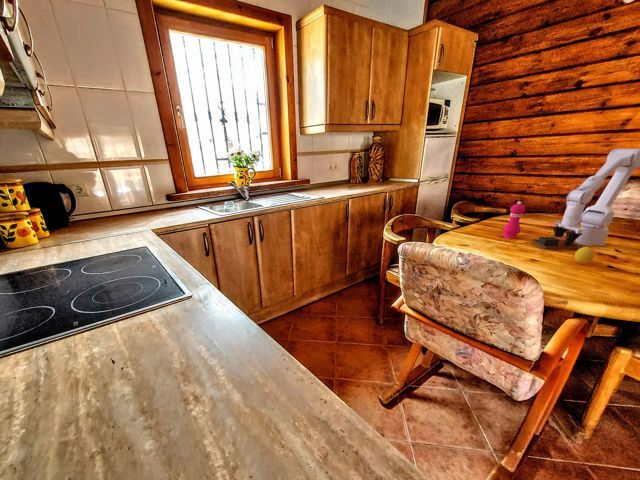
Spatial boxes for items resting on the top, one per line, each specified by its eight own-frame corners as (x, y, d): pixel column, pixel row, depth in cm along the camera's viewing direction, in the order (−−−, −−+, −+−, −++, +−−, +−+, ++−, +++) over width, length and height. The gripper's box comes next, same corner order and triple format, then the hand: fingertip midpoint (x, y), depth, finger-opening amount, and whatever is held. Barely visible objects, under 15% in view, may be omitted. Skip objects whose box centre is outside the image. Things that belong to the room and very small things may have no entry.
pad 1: (550, 244, 138) (553, 236, 136) (556, 247, 134) (559, 239, 132) (536, 244, 139) (539, 236, 137) (542, 247, 135) (545, 239, 133)
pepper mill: (518, 240, 146) (529, 202, 138) (501, 239, 150) (511, 202, 142) (517, 236, 152) (527, 200, 144) (501, 235, 156) (510, 199, 148)
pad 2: (564, 244, 137) (567, 236, 135) (571, 247, 133) (574, 239, 131) (551, 244, 138) (553, 236, 136) (557, 247, 134) (560, 239, 132)
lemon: (582, 261, 119) (589, 244, 116) (593, 267, 114) (601, 249, 111) (567, 262, 120) (574, 244, 117) (578, 267, 115) (586, 249, 111)
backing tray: (565, 243, 139) (566, 239, 138) (581, 250, 130) (582, 246, 129) (531, 243, 142) (532, 239, 141) (544, 250, 133) (545, 246, 132)
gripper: (551, 212, 137) (543, 238, 142) (574, 220, 124) (563, 248, 129) (568, 212, 135) (558, 238, 141) (592, 219, 122) (581, 248, 128)
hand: (562, 243), depth 135 cm, fingers open, 6 cm apart
